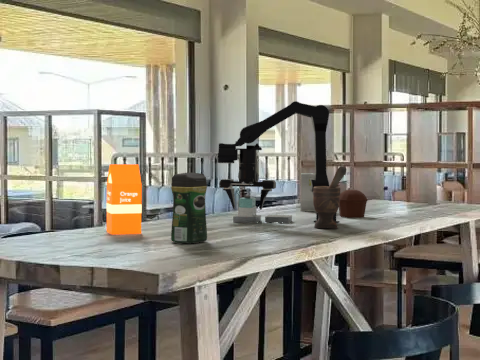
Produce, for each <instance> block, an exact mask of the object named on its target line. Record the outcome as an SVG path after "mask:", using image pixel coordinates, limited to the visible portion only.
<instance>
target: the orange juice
mask: <svg viewBox="0 0 480 360" xmlns="http://www.w3.org/2000/svg"><path fill="white" fill-rule="evenodd" d="M141 178H142V177H141V172H140V165H139V164H136V163H134V164H127V163H126V164H123V163H122V164H120V163H119V164H118V163H117V164H113V163H111V164H109V167H108V173H107V181H106V232H107V233H108V234H110V235H141V234H142V213H143V211H142V206H143V204H142V201H143V200H142V199H143V198H142V187H143V186H142V179H141Z"/></svg>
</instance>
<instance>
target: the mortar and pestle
mask: <svg viewBox="0 0 480 360" xmlns="http://www.w3.org/2000/svg"><path fill="white" fill-rule="evenodd" d="M346 173H347V168H346V167H345V166H343V165H340V166H339V167H338V168H337V170H336V172H335V173H334V176H333V178H332V180H331V183H329V187H328V186H316V187H313V204H314V208H315V211H316V212H317V214H318V215H319V219H318V221H316V220H315V221H316V222H314V225H313V227H314V229H326V230H327V229H333V230H336V229H338V224H337V223H336V222H335V221H334V220H333V215H334V214H335V213H336V214H337V212H339V204H340V194H341V187H339V186H338V185H339V183H340V182H341V180H342V179H343V178H344V176H345V174H346ZM316 212H315V213H316Z"/></svg>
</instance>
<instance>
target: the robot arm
mask: <svg viewBox="0 0 480 360" xmlns="http://www.w3.org/2000/svg"><path fill="white" fill-rule="evenodd" d="M297 114H298V115H300V116H302V117H303V116H304V117H307V118H310V119H311V124H312V129H313V133H314V134H313V135H314V173H315V177H314V179H310V182H311V189H310V191H311V192H312V194H313V187H316V186H328V187H329V186H330V181H329V178H328V175H327V135H326V134H327V133H326V132H327V130H328V129H327V128H328V123H329V116H330V110H329V108H328V107H326V105H323V104H319V105H316V106H315V105H311V104H306V103H301V102H299V101H297V100H296V101H292V102H291V103H290V104H289V105H287V106H284V107H283V108H282V109H280V110H278V111H277V112H275V113H273V114H272V115H270V116H268V117H267V118H265V119H263V120H261V121H258V122H255V123H252V124H250V125H248V126H244V127H243V128H242V129H241V130H240V132H239V138H238V139H237V141H235V143H223V142H222V143H221V142H219V143H218V152H217V163H218V164H235V161H238V157H239V166H238V167H239V169H238V174H237V175H238V176H237V178H238V180H234V179H231V178H230V179H229V178H223V179H220V180H219V183H218V184H219V185H218V188H220V189H222V191H224V192H226V194H227V196H228V199H229V201H230V204H231V207H232V209H233V210H235V209H236V199H235V198H236V197H235V190H236V189H235V188H234V187H245V188H247V187H249V188H251V187H252V188H262V189H260V197H259V210H260V211H261V210H262V209H263V207H264V203H265V200H266V197H267V196H268V194H269V192H272V191H273V190H275V189H276V188H277V182H276V180H274V179H263V180H261V181H259V178H260V177H259V176H260V175H259V173H258V171H257V151H262V150H263V149H262V147H261V146H260V145H259V143H256V144H255V145H252V143H254V142H255V141H256V140H258V138H260V137H261V136H262V135H263V134H265V133H266V132H267V131H269V130H270V129H272V128H273V127H275V126H277V125H278V124H280V123H281V122H284V121H286V120H287V119H288V118H291V117H292V116H293V115H297ZM245 144H247V145H246V146H245V147H246V148H238V147H242V146H243V145H245ZM250 144H251V145H250ZM238 153H239V154H238ZM315 213H316V214H315V215H316V217H315V219H316V220H313V223H316V221H318V219H319V215H318V214H317V212H315ZM333 220H334V221H335V222H336V223H340V221H339V220H337V212H336V213H335V214H334V215H333Z"/></svg>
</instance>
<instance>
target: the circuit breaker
mask: <svg viewBox="0 0 480 360" xmlns="http://www.w3.org/2000/svg"><path fill="white" fill-rule="evenodd" d="M314 177H315V172H314V173H312V172H311V173H309V172H301V173H300V203H299V204H300V206H299V208H300V212H305V211H315V208H314V204H313V194H312V192H311V191H310V189H311V182H310V179H314Z"/></svg>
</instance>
